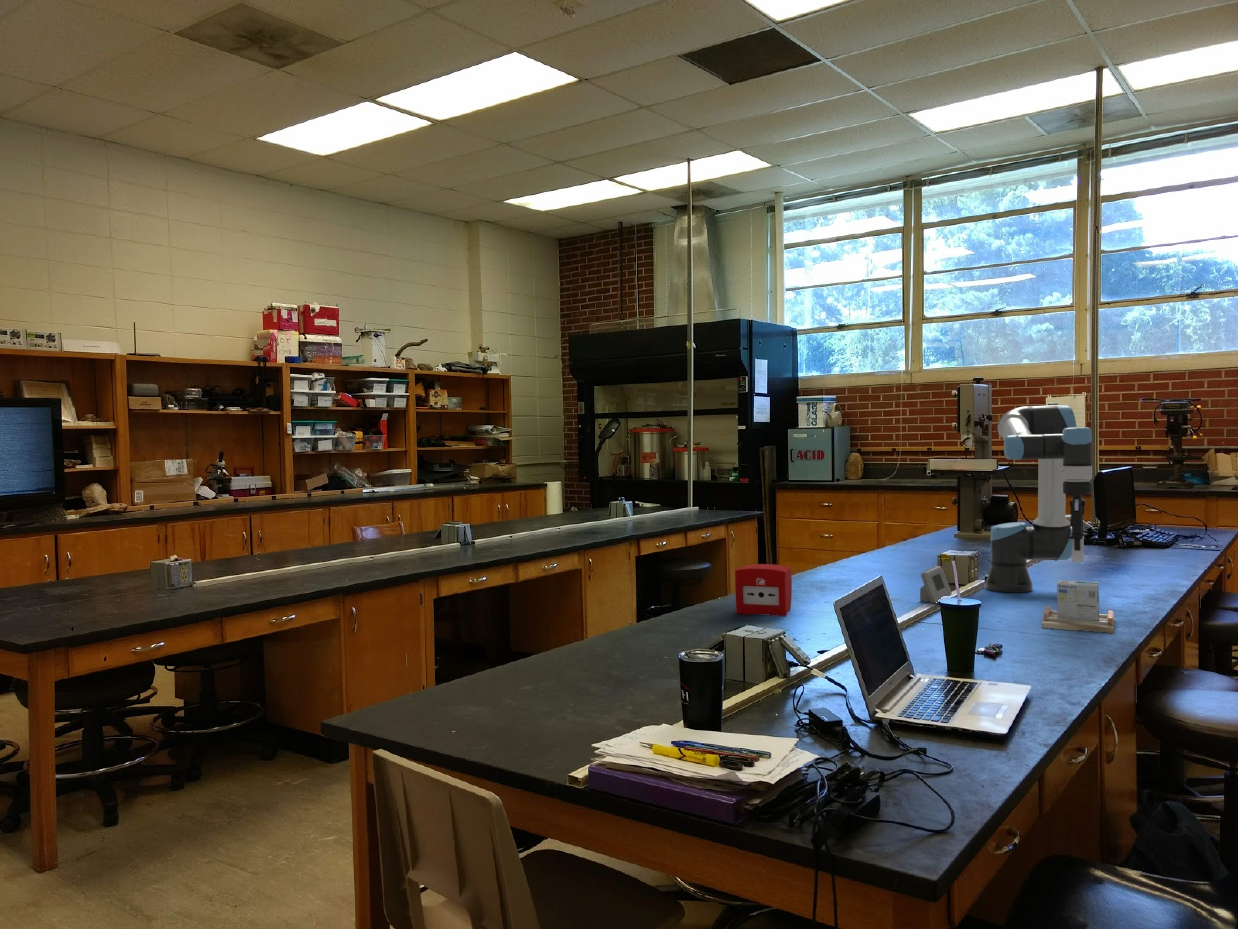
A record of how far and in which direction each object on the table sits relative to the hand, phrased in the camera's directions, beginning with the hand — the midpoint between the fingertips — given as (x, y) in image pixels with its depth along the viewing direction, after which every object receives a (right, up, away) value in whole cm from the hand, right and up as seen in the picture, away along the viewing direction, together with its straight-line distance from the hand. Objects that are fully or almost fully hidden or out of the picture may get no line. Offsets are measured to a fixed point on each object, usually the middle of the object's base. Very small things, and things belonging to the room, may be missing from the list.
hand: (1078, 559), depth 256 cm
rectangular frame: (+1, -17, +1) cm, 17 cm away
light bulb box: (0, -18, 0) cm, 18 cm away
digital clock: (-26, -18, +41) cm, 52 cm away
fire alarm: (-86, -21, +30) cm, 94 cm away
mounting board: (+1, -19, +1) cm, 19 cm away
